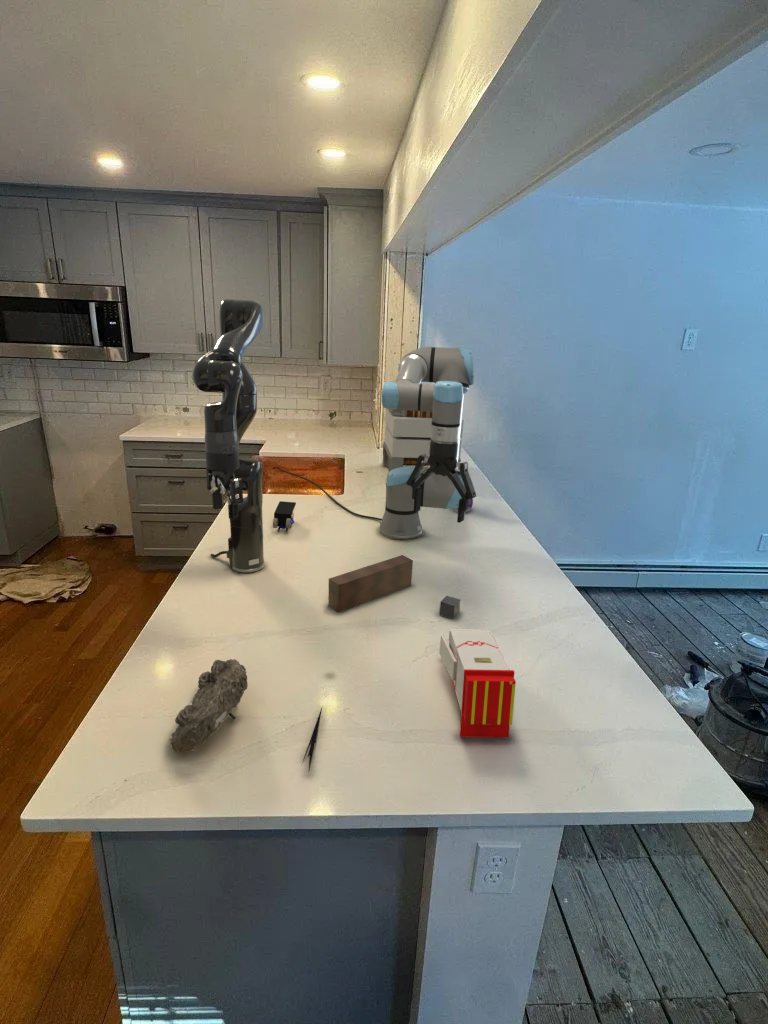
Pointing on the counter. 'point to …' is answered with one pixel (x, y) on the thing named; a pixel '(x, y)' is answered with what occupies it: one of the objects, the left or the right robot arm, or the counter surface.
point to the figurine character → (284, 515)
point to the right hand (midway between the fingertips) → (438, 516)
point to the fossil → (210, 704)
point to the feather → (313, 740)
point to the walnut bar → (369, 583)
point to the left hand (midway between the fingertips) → (225, 513)
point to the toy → (479, 682)
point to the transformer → (407, 437)
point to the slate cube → (449, 607)
